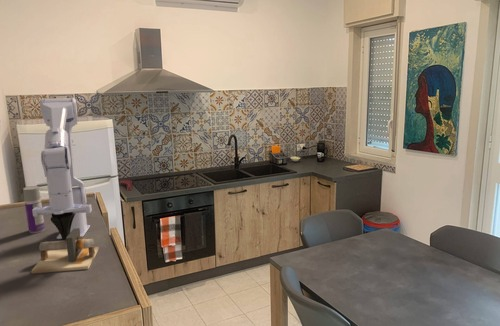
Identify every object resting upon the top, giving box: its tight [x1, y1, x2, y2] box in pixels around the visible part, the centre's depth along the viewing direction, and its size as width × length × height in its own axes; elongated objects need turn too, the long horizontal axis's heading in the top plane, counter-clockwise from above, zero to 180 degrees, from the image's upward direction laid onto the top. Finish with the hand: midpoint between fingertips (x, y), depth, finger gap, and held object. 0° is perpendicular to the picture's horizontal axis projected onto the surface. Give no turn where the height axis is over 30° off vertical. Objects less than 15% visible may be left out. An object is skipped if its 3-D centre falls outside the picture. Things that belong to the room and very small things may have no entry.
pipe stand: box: [31, 238, 100, 275], centre depth 102 cm, size 12×14×6 cm
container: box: [22, 185, 46, 234], centre depth 122 cm, size 5×5×15 cm
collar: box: [65, 228, 82, 261], centre depth 103 cm, size 7×2×7 cm, turn 9°
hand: (66, 238), depth 102 cm, fingers closed
